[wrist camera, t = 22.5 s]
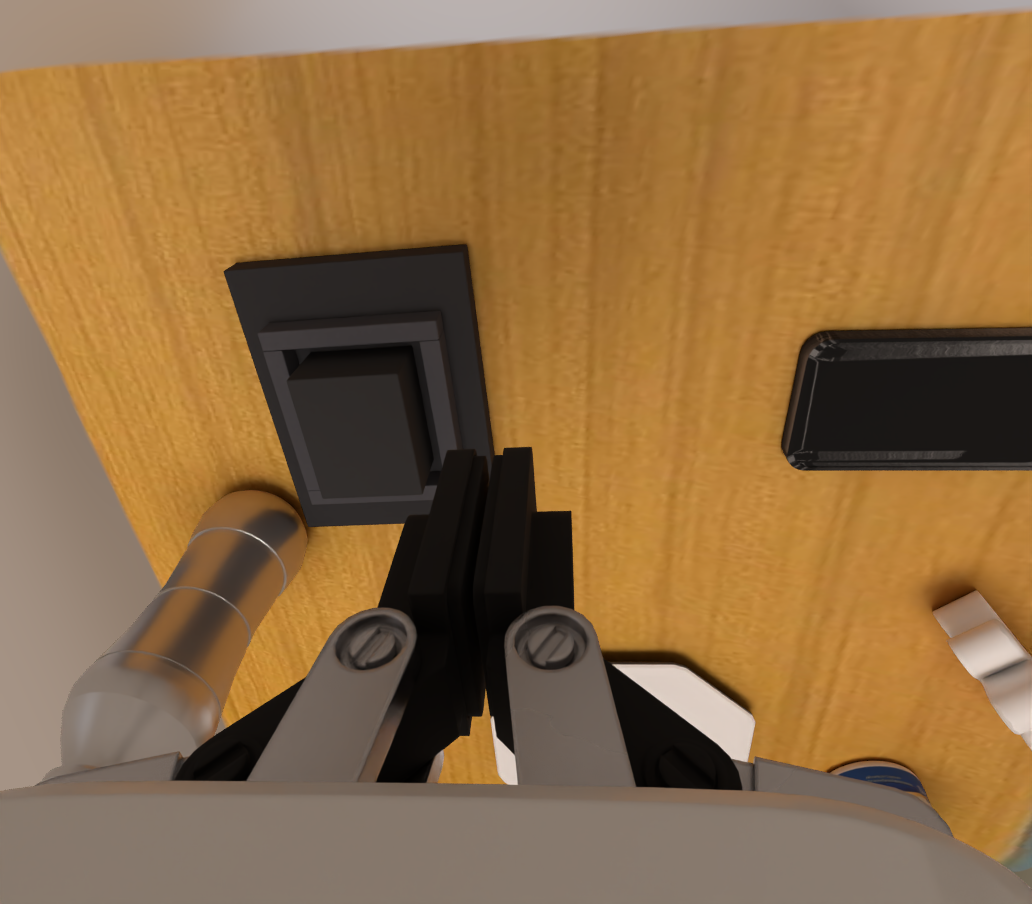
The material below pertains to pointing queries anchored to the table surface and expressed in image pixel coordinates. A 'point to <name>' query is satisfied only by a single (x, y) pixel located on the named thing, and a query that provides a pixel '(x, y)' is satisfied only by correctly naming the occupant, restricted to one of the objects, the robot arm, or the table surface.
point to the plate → (682, 696)
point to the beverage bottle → (885, 776)
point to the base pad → (364, 325)
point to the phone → (912, 401)
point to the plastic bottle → (185, 639)
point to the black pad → (363, 422)
